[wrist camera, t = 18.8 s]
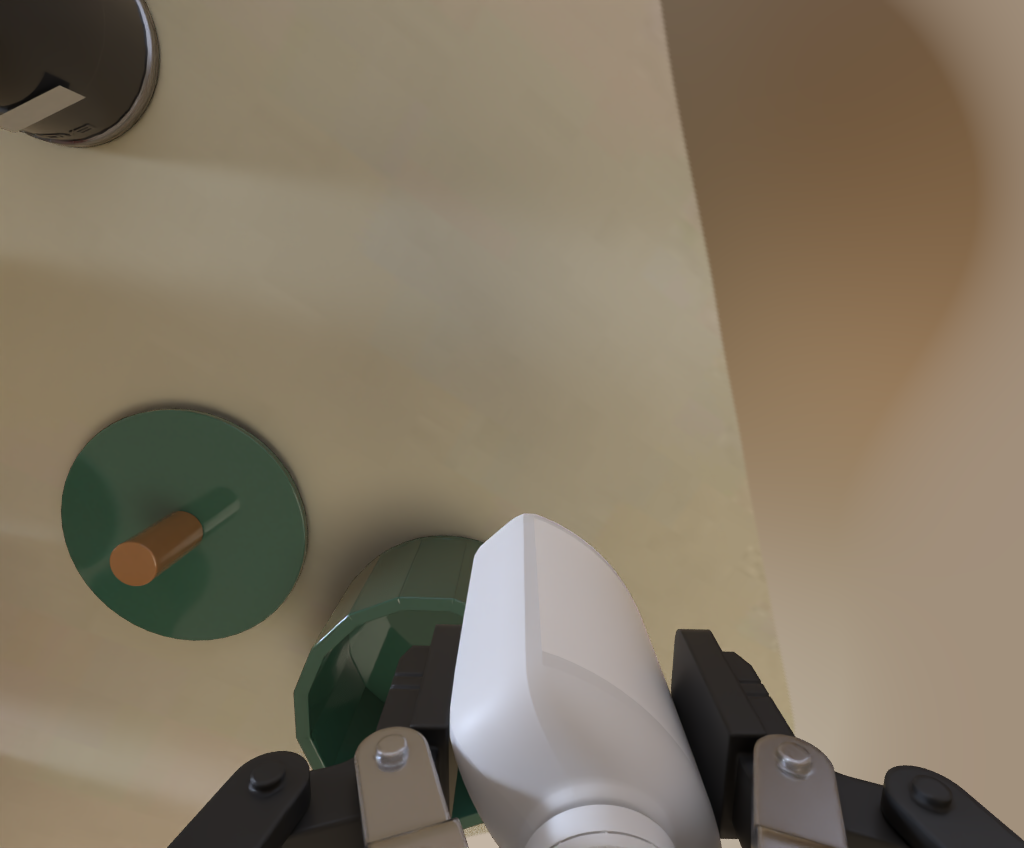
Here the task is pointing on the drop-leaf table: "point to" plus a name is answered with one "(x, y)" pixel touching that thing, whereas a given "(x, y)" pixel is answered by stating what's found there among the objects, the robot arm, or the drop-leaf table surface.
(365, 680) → the canister
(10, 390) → the drop-leaf table surface
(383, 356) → the drop-leaf table surface
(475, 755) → the eye dropper bottle
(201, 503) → the canister lid
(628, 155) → the drop-leaf table surface
